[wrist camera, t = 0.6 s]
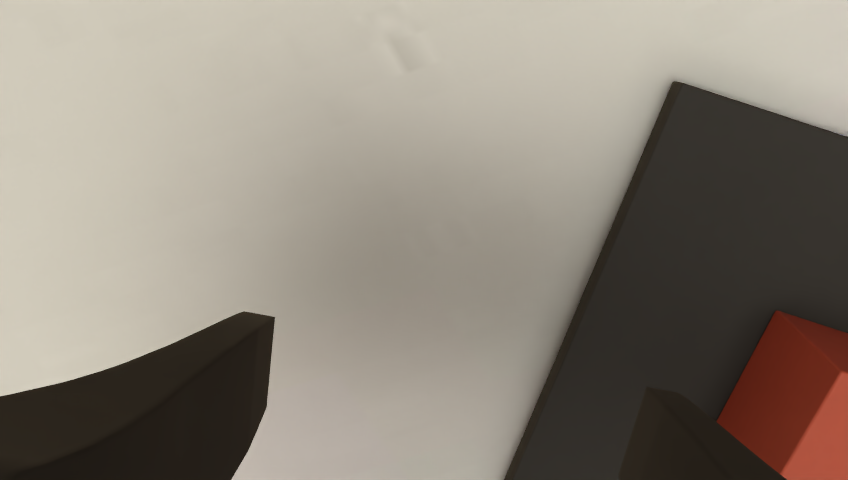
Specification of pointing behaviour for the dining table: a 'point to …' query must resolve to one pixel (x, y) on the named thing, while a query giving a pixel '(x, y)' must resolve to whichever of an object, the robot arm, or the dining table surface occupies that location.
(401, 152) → the dining table surface
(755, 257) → the mat
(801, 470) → the block
